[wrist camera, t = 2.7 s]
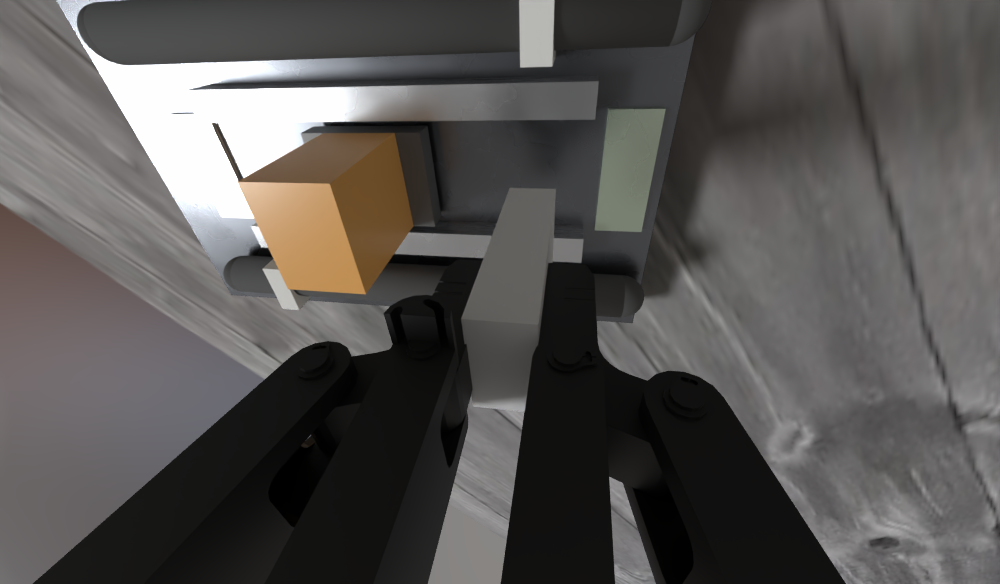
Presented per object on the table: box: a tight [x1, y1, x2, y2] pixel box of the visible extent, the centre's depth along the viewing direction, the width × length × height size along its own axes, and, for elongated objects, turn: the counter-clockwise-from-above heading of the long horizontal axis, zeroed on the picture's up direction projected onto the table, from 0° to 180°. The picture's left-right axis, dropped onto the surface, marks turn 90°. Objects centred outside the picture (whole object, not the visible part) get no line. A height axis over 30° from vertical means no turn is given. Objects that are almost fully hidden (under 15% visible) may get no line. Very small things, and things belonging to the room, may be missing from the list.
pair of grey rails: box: [77, 0, 712, 318], centre depth 16 cm, size 14×22×2 cm, turn 92°
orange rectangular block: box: [237, 126, 441, 294], centre depth 15 cm, size 4×5×6 cm
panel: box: [56, 0, 695, 323], centre depth 18 cm, size 16×24×3 cm, turn 92°
